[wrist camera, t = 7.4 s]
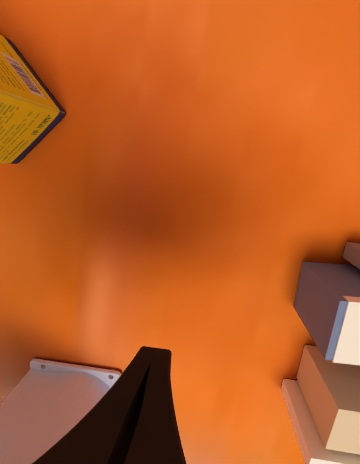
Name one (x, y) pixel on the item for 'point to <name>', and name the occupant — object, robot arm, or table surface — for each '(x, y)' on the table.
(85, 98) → the table surface
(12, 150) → the supplement box
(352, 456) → the book rack
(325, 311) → the boxed book
